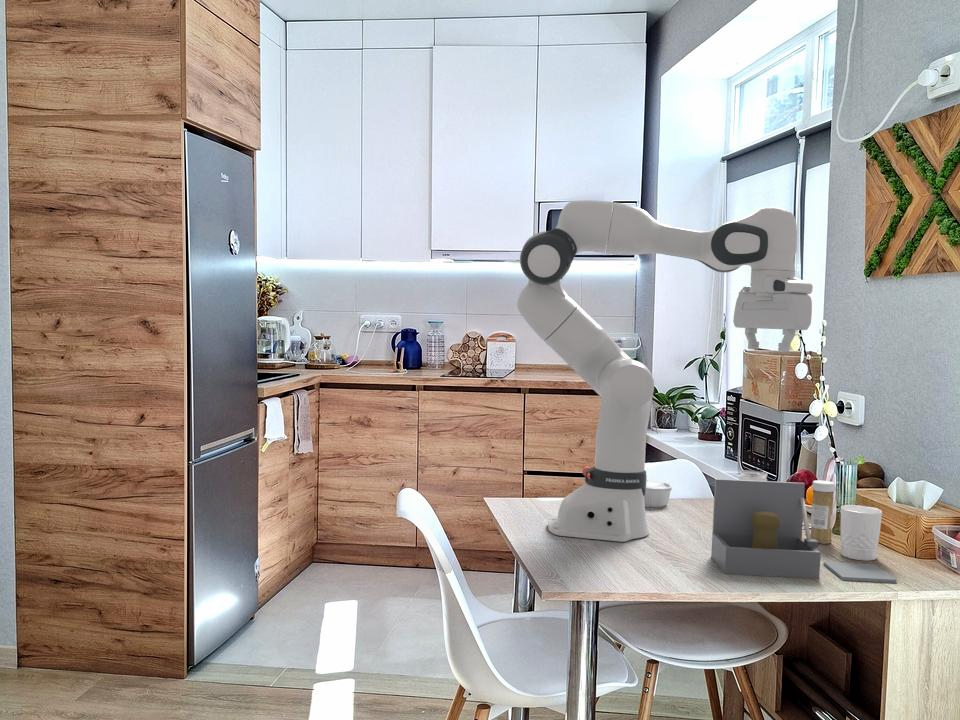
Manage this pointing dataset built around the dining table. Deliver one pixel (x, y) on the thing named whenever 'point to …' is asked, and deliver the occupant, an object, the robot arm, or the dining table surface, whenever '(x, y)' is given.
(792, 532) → the case
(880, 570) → the mat
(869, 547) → the white cup
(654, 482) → the ramekin
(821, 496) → the sprinkles bottle
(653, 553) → the dining table surface
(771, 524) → the cork
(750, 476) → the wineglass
